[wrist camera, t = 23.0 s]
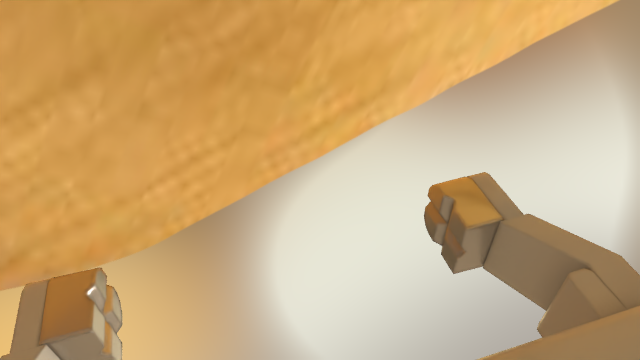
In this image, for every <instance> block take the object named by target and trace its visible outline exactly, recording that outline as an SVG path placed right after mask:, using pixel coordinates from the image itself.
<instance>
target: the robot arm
mask: <svg viewBox="0 0 640 360" xmlns="http://www.w3.org/2000/svg"><path fill="white" fill-rule="evenodd" d="M428 197H429V198H430V200H431V202H430V203H429V204H428V205H427V206H426V208H425V214H424V219H425V225H426V228H427V231H428V233H429V235H430V237H431V238H432V240H433V241H434V242H436V243H438V244H440V245H442V252H441V255H442V256H443V258H444V260H445V261H446V263H447V264H448V266H449V268H450V269H451V271H452V272H453V274H455V273H459V272H463V271H467V270H471V269H475V268H478V267H482V266H483V268H484V269H485V270H487V271H488V272H490V273H491V274H492V275H494V276H495V277H497V278H499V279H500V280H501V281H503V282H504V283H506V284H507V285H509V286H510V287H512V288H514V289H515V290H516V291H518V292H519V293H521V294H522V295H524V296H525V297H527V298H528V299H530V300H531V301H533V302H534V303H536V304H537V305H539V306H540V307H542V308H543V309H544V310H546V312H545V314H544V316H543V317H542V319H541V321H540V322H539V325H538V327H537V330H538V332H539V333H540V334H541V336H542V338H540V339H537V340H534V341H531V342H528V343H525V344H522V345H519V346H516V347H513V348H510V349H507V350H504V351H501V352H498V353H495V354H492V355H489V356H486V357H483V358H480V359H477V360H640V275H639V274H638V273H637V272H636V271H635V270H634V269H633V268H632V267H631V266H630V265H629V264H628V263H627V262H626V261H625V259H623V258H622V256H620V255H618V254H616V253H614V252H611V251H609V250H607V249H605V248H603V247H601V246H598V245H596V244H594V243H592V242H590V241H587V240H585V239H583V238H581V237H579V236H577V235H574V234H572V233H570V232H568V231H566V230H563V229H561V228H559V227H557V226H555V225H552V224H550V223H548V222H546V221H544V220H542V219H539V218H537V217H535V216H533V215H531V214H525V215H523V213H522V212H521V211H520V210H519V209H518V207H517V206H516V205H515V204H514V203H513V201H512V200H511V199H510V198H509V197H508V196H507V194H506V193H505V192H504V191H503V190H502V189H501V188H500V186H499V185H498V184H497V183H496V181H495V180H494V179H493V178H492V177H491V176H490V175H489V174H488V173H486V172H483V173H479V174H475V175H471V176H467V177H462V178H458V179H454V180H450V181H446V182H443V183H439V184H435V185H432V186H431V187H430V189H429V193H428ZM106 279H107V276H106V274H105V273H104V271H103V270H102V268H95V269H91V270H86V271H82V272H77V273H73V274H68V275H63V276H59V277H54V278H51V279H46V280H42V281H38V282H33V283H29V284H26V286H25V287H24V289H23V291H22V293H21V298H20V303H19V309H18V314H17V319H16V324H15V329H14V334H13V340H12V345H11V350H10V354H7V355H4V356H2V357H1V358H0V360H122V342H121V340H120V339H119V337H118V336H117V332H118V331H119V329H120V328H121V326H122V310H121V304H120V300H119V297H118V295H117V292H116V291H115V289H114V287H112V286H109V285H107V284H106V283H107V280H106Z"/></svg>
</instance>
